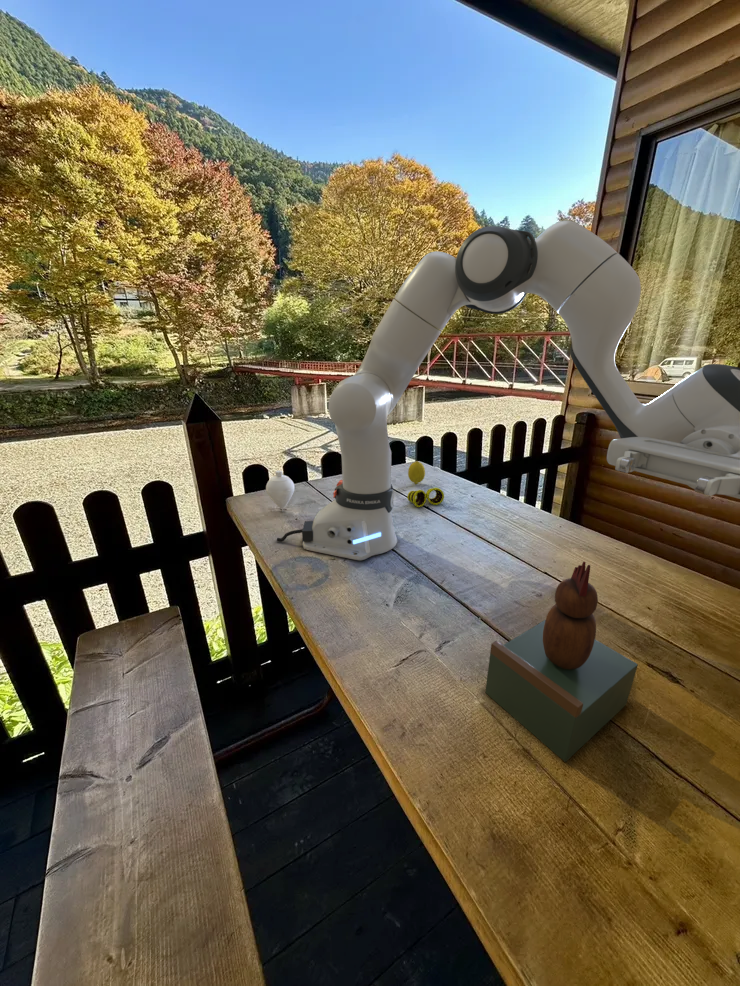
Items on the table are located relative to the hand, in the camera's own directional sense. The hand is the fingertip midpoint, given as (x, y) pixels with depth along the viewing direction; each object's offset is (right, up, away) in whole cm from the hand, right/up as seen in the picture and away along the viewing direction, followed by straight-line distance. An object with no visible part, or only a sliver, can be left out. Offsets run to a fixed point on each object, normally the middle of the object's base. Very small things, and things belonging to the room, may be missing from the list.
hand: (658, 475), depth 50 cm
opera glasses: (-19, -5, +70) cm, 73 cm away
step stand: (-10, -30, +5) cm, 32 cm away
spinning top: (-60, -8, +65) cm, 89 cm away
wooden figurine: (-10, -24, +3) cm, 26 cm away
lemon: (-20, +1, +85) cm, 87 cm away
